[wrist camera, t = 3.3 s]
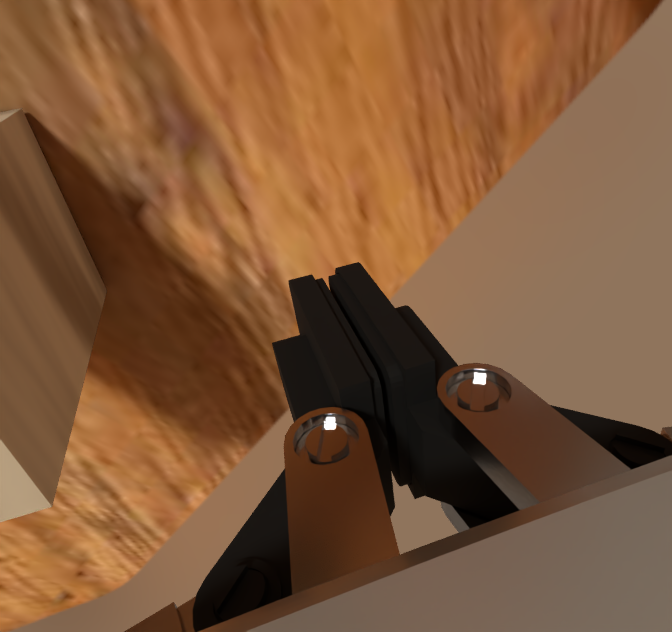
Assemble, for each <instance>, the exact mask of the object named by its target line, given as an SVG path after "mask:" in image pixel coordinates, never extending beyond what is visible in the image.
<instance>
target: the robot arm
mask: <svg viewBox="0 0 672 632" xmlns="http://www.w3.org/2000/svg"><path fill="white" fill-rule="evenodd" d="M335 274H336V275H332V276H329V286H330V290H329V288H328V287H327V285H326V283H325V281H324V280H323V278H320V279H317V280H315V279H314V277H313V275H308V276H304V277H300V278H296V279H292V280H289V287H290V292H291V296H292V301H293V306H294V310H295V315H296V319H297V324H298V328H299V333H300V335H298V336H295V337H291V338H288V339H284V340H281V341H277V342H273V343H272V345H273V349H274V353H275V357H276V361H277V365H278V368H279V372H280V376H281V379H282V383H283V387H284V390H285V394H286V397H287V401H288V404H289V407H290V411H291V414H292V417H293V420H294V423H293V424H292V425H291V426H290V428H289V430H288V432H287V433H286V435H285V441H284V459H285V469H284V470H283V472H282V473H281V475H280V476H279V477H278V479H277V480H276V482H275V483H274V484H273V486H272V487H271V488H270V490H269V491H268V492H267V494H266V495H265V497H264V498H263V499H262V501H261V502H260V503H259V505H258V507H257V508H256V509H255V510H254V512H253V513H252V515H251V516H250V518H249V519H248V520H247V521H246V523H245V524H244V526H243V527H242V528H241V530H240V531H239V532H238V534H237V535H236V537H235V538H234V539H233V541H232V542H231V543H230V545H229V546H228V548H227V549H226V550H225V552H224V553H223V555H222V556H221V557H220V559H219V560H218V562H217V563H216V564H215V566H214V567H213V568H212V570H211V571H210V573H209V574H208V575H207V577H206V578H205V580H204V581H203V583H202V585H201V587H200V589H199V591H198V592H197V595H196V597H194V598H193V599H191V600H189V601H188V602H186V603H184V604H183V605H181V606H179V607H178V608H177V606H176V605H175V603H174V602H173V603H171V604H170V605H168V606H166V607H165V608H163V609H161V610H160V611H158V612H156V613H155V614H153V615H151V616H150V617H148V618H146V619H145V620H143V621H141V622H140V623H138V624H136V625H135V626H133V627H131V628H130V629H128V630H126V631H125V632H672V427H665V428H662V431H661V434H658V433H656V432H654V431H652V430H649V429H646V428H643V427H640V426H636V425H632V424H628V423H623V422H619V421H615V420H611V419H606V418H603V417H598V416H594V415H590V414H585V413H581V412H577V411H573V410H568V409H564V408H560V407H556V406H552V405H549V404H547V403H546V402H545V401H544V400H543V399H541V398H540V397H539V396H537V395H536V394H535V393H534V392H532V391H531V390H530V389H529V388H527V387H526V386H525V385H523V384H522V383H521V382H520V381H518V380H517V379H516V378H515V377H513V376H512V375H511V374H509V373H508V372H506V371H504V370H503V369H501V368H498V367H495V366H492V365H489V364H480V363H472V364H463V365H460V366H458V365H457V363H456V362H455V361H454V360H453V359H452V358H451V356H450V355H449V354H448V353H447V351H446V350H445V349H444V348H443V347H442V345H441V344H440V343H439V342H438V340H437V339H436V338H435V337H434V336H433V334H432V333H431V332H430V331H429V330H428V328H427V327H426V326H425V325H424V324H423V322H422V321H421V320H420V319H419V317H418V316H417V315H416V314H415V313H414V311H413V310H412V309H411V308H410V307H409V306H402V307H398V308H394V306H393V305H392V304H391V303H390V301H389V300H388V299H387V297H386V296H385V295H384V293H383V292H382V291H381V290H380V288H379V287H378V286H377V284H376V283H375V282H374V280H373V279H372V278H371V277H370V275H369V274H368V273H367V271H366V270H365V269H364V267H363V266H362V265H361V264H360V263H359V262H357V263H353V264H350V265H346V266H342V267H338V268H336V270H335ZM391 471H392V473H393V475H394V477H395V480H396V482H397V483H398V484H399V486H403V485H406V484H408V486H409V488H410V490H411V492H412V494H413V496H414V498H415V499H416V498H419V497H422V496H427V497H430V498H433V499H435V500H438V501H441V506H442V509H443V511H444V513H445V515H446V516H447V518H448V519H449V520H450V522H451V523H452V524H453V526H454V527H455V528H456V529H457V531H458V532H459V533H457V534H454V535H452V536H449V537H446V538H444V539H441V540H438V541H436V542H433V543H430V544H427V545H425V546H422V547H419V548H417V549H414V550H411V551H409V552H406V553H403V554H401V555H400V554H399V550H398V546H397V542H396V538H395V534H394V530H393V526H392V522H391V518H390V516H391V514H392V512H393V510H394V508H395V503H394V494H393V483H392V475H391Z"/></svg>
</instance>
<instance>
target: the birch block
mask: <svg viewBox="0 0 672 632" xmlns="http://www.w3.org/2000/svg"><path fill="white" fill-rule="evenodd" d="M106 293H107V290H106V287H105V285H104V283H103V281H102V279H101V277H100V275H99V272H98V270H97V268H96V266H95V264H94V262H93V260H92V257H91V255H90V253H89V251H88V249H87V247H86V245H85V242H84V240H83V238H82V236H81V234H80V232H79V230H78V228H77V225H76V223H75V221H74V219H73V217H72V215H71V213H70V210H69V208H68V206H67V204H66V202H65V200H64V198H63V195H62V193H61V191H60V189H59V187H58V185H57V183H56V180H55V178H54V176H53V174H52V172H51V170H50V168H49V166H48V163H47V161H46V159H45V157H44V155H43V153H42V151H41V148H40V146H39V144H38V142H37V140H36V138H35V136H34V133H33V131H32V129H31V127H30V125H29V123H28V121H27V118H26V116H25V114H24V112H23V110H22V108H21V109H16V110H10V111H5V112H0V522H3V521H6V520H9V519H13V518H16V517H19V516H23V515H26V514H29V513H33V512H36V511H39V510H43V509H46V508H49V507H52V505H53V501H54V497H55V493H56V489H57V485H58V481H59V477H60V473H61V469H62V466H63V462H64V458H65V454H66V450H67V446H68V442H69V438H70V434H71V430H72V426H73V422H74V418H75V414H76V410H77V407H78V403H79V399H80V395H81V391H82V387H83V383H84V379H85V375H86V371H87V367H88V363H89V359H90V355H91V352H92V348H93V344H94V340H95V336H96V332H97V328H98V324H99V320H100V316H101V312H102V308H103V304H104V300H105V296H106Z"/></svg>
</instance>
